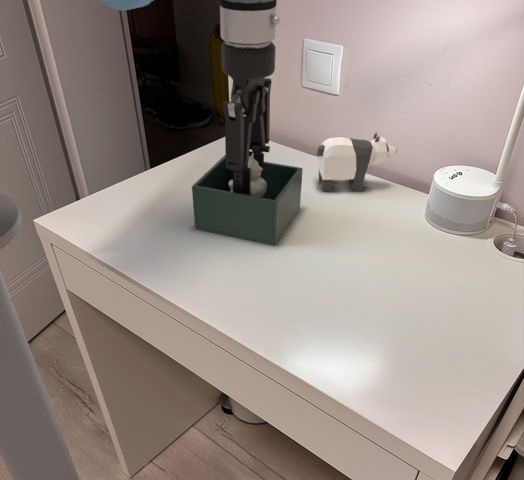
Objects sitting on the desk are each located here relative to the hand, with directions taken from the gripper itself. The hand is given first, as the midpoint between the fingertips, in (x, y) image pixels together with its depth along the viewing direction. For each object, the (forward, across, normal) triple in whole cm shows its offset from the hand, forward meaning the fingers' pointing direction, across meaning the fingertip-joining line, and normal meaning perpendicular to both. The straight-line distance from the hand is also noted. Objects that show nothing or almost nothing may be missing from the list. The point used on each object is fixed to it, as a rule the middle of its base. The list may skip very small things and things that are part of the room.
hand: (248, 197), depth 89 cm
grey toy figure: (0, 0, 0) cm, 1 cm away
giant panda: (+4, +19, -13) cm, 23 cm away
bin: (+4, 0, 0) cm, 4 cm away
